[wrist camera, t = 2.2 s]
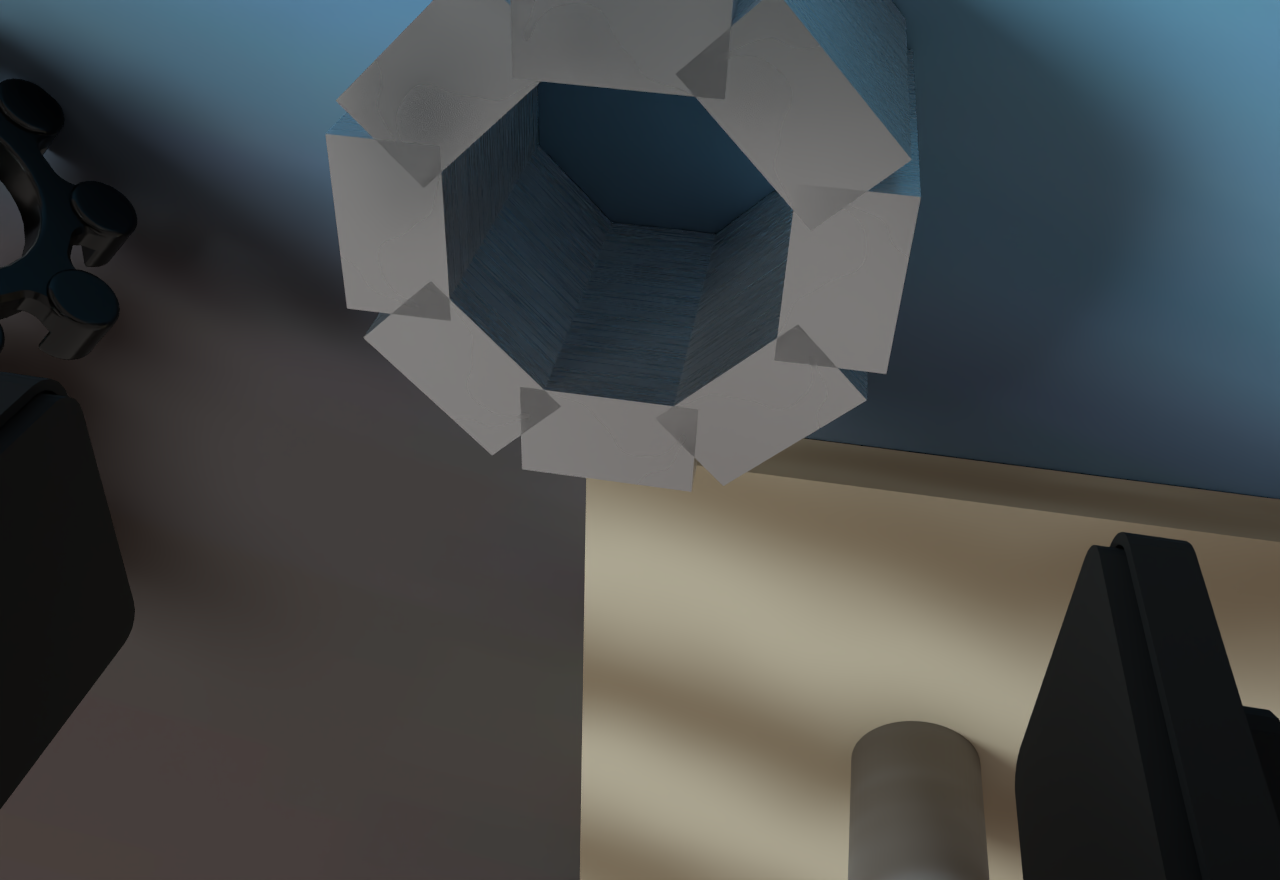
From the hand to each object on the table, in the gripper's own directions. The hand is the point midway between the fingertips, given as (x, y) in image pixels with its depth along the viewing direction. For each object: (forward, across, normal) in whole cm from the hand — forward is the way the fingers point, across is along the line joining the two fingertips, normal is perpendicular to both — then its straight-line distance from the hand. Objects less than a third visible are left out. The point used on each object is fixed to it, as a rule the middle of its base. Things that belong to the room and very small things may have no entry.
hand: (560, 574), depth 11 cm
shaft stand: (+10, -5, +12) cm, 17 cm away
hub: (+10, +1, -1) cm, 10 cm away
